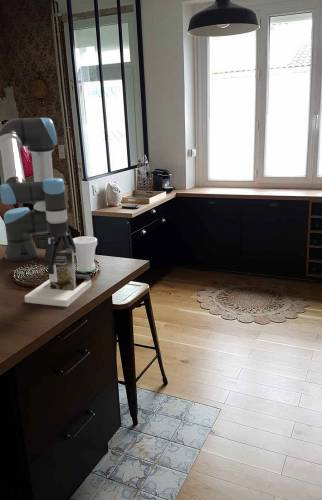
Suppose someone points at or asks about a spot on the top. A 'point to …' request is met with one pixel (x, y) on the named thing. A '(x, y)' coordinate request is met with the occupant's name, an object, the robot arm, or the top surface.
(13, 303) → the top surface
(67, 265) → the grey rectangular box
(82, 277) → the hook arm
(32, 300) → the white rectangular frame
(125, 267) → the top surface
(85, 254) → the cup
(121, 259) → the top surface
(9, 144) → the robot arm
